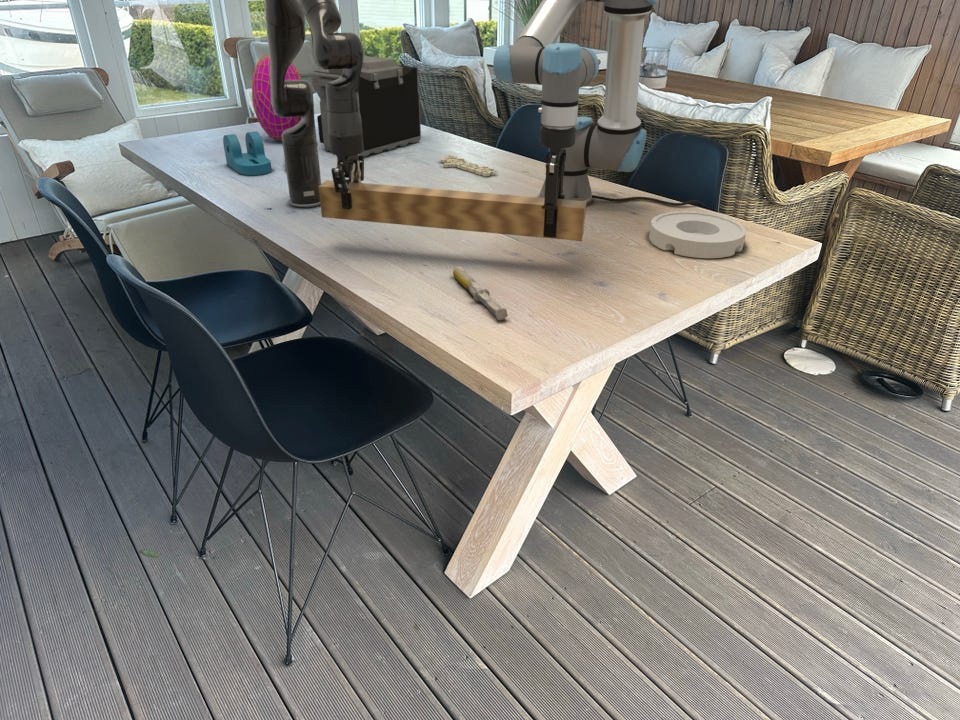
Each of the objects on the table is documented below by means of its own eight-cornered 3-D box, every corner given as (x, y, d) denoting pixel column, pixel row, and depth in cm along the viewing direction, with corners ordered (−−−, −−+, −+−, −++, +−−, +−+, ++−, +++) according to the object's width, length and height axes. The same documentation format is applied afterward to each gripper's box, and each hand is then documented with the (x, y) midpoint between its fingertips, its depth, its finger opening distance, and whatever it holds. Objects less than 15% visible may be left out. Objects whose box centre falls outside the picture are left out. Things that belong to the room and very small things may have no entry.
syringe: (449, 274, 155) (449, 263, 153) (465, 272, 156) (464, 260, 154) (490, 323, 135) (491, 310, 133) (508, 319, 136) (508, 307, 134)
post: (583, 233, 156) (586, 201, 152) (581, 241, 151) (584, 208, 148) (330, 210, 167) (327, 180, 163) (321, 217, 163) (318, 186, 159)
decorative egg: (293, 132, 276) (283, 50, 261) (319, 140, 264) (310, 56, 249) (249, 139, 265) (236, 54, 250) (273, 148, 253) (261, 60, 238)
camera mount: (227, 164, 233) (221, 132, 227) (257, 160, 238) (252, 129, 233) (244, 176, 220) (239, 143, 215) (276, 172, 225) (271, 139, 220)
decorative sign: (429, 159, 238) (452, 154, 244) (429, 162, 238) (452, 157, 244) (480, 175, 221) (502, 170, 227) (480, 178, 221) (502, 173, 227)
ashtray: (641, 224, 185) (643, 210, 183) (728, 226, 184) (731, 212, 182) (658, 257, 165) (660, 241, 163) (755, 259, 164) (759, 243, 162)
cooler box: (383, 133, 276) (378, 52, 261) (425, 141, 265) (422, 56, 250) (314, 150, 251) (304, 61, 235) (358, 160, 240) (350, 67, 224)
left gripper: (342, 123, 160) (348, 194, 169) (316, 137, 148) (324, 213, 157) (372, 125, 159) (377, 197, 168) (348, 139, 147) (355, 216, 156)
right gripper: (546, 115, 151) (541, 217, 163) (533, 134, 136) (528, 245, 148) (580, 117, 149) (572, 220, 161) (571, 136, 134) (562, 248, 146)
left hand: (351, 204), depth 162 cm, fingers closed on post, 5 cm apart
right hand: (551, 231), depth 155 cm, fingers closed on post, 5 cm apart
